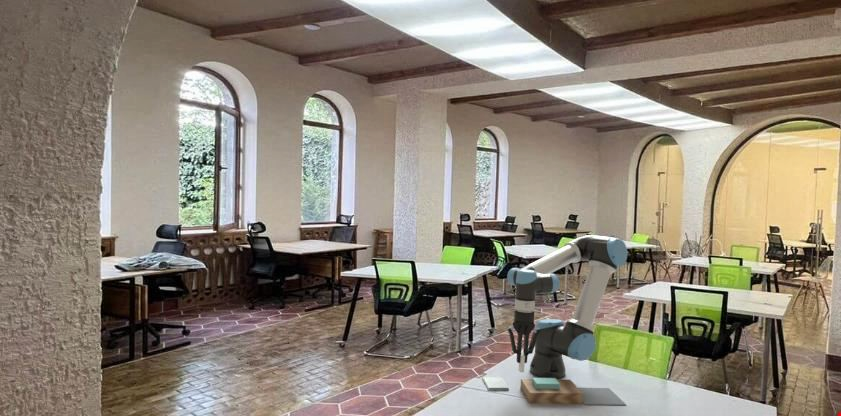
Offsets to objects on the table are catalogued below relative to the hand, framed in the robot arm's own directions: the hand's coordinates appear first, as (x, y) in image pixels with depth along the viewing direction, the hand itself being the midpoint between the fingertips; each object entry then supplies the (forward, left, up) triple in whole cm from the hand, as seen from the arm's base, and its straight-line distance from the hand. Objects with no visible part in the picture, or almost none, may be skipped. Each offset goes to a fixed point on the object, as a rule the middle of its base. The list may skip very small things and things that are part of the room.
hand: (521, 371), depth 204 cm
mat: (+23, +20, -10) cm, 32 cm away
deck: (+9, +8, -10) cm, 15 cm away
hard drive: (-13, +4, -11) cm, 17 cm away
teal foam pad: (+7, +7, -6) cm, 11 cm away
